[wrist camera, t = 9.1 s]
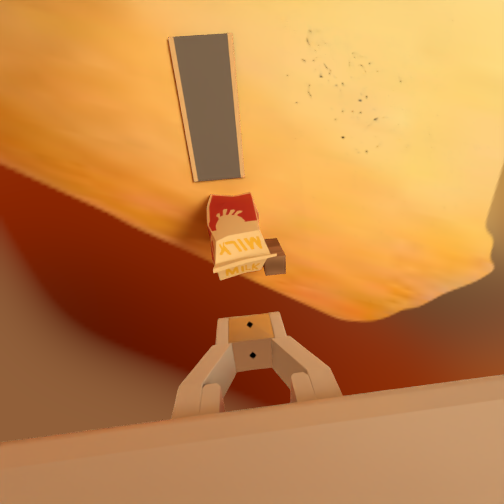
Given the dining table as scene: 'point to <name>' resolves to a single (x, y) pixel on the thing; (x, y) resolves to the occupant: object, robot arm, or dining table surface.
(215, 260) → the milk carton
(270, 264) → the walnut block
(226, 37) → the strip
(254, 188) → the dining table surface
